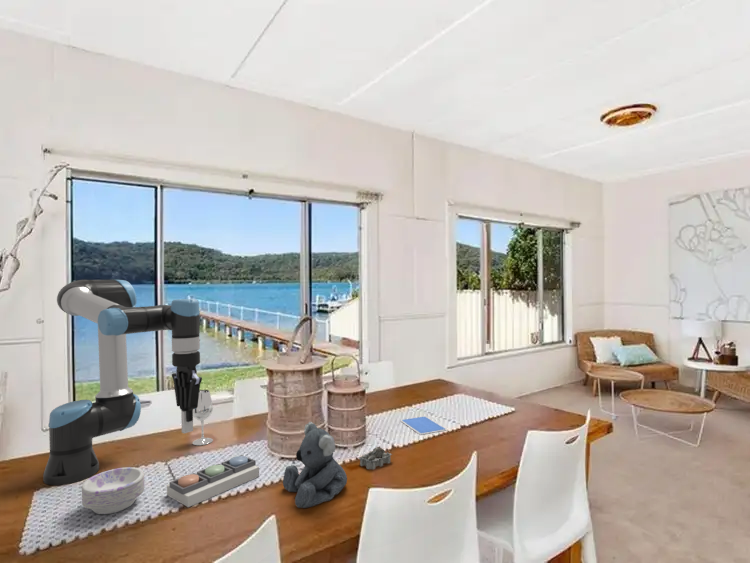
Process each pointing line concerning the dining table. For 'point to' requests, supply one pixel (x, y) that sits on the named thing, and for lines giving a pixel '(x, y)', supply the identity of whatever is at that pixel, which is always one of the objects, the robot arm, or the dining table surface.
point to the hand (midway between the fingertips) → (187, 431)
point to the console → (213, 483)
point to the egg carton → (370, 458)
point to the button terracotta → (188, 480)
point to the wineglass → (203, 414)
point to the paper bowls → (113, 490)
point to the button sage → (214, 470)
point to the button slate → (238, 461)
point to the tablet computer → (423, 425)
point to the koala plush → (315, 469)
